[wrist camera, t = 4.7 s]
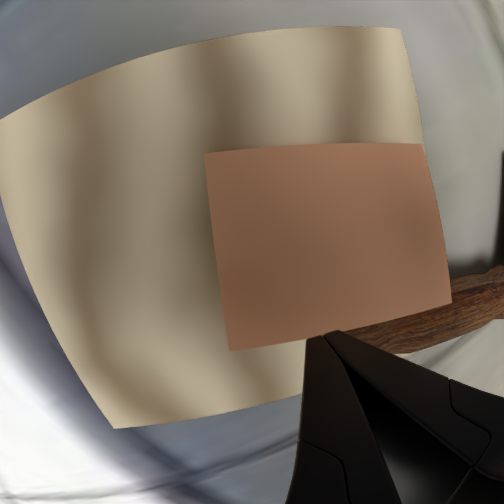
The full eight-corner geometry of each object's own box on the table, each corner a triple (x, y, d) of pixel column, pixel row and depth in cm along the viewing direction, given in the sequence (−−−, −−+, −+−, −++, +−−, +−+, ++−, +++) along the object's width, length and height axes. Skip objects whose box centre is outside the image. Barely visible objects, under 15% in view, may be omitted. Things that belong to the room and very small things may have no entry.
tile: (205, 168, 13) (405, 155, 14) (228, 343, 13) (432, 301, 14) (203, 153, 12) (421, 143, 13) (229, 351, 11) (452, 302, 12)
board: (390, 33, 13) (399, 29, 12) (417, 340, 20) (424, 347, 19) (-4, 128, 12) (-14, 128, 11) (116, 418, 19) (114, 428, 18)
